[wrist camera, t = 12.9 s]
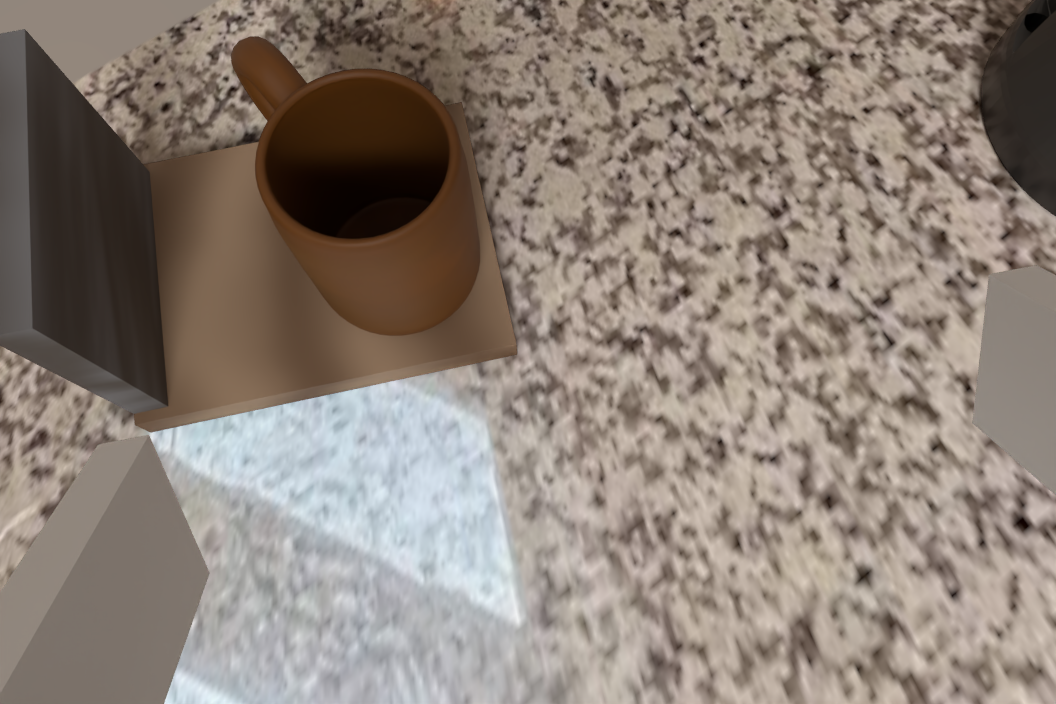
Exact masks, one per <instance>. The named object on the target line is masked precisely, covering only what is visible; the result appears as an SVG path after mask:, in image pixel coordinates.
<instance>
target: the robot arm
mask: <svg viewBox="0 0 1056 704" xmlns="http://www.w3.org/2000/svg"><path fill="white" fill-rule="evenodd" d="M981 101H982V111H983V117H984V121H985V125H986V129H987V132H988V135H989V137H990V140H991V142H992V144H993V146H994V148H995V150H996V152H997V154H998V156H999V158H1000V159H1001V161H1002V163H1003V164H1004V166H1005V167H1006V169H1007V170H1008V171H1009V173H1010V174H1011V175H1012V177H1013V178H1014V179H1015V180H1016V181H1017V183H1018V184H1019V185H1020V186H1021V187H1022V188H1023V189H1024V190H1025V191H1026V192H1027V193H1028V194H1029V195H1030V196H1031V197H1032V198H1033V199H1034V200H1035V201H1037V202H1038V203H1039V204H1040V205H1041V206H1043V207H1044V208H1045V209H1047V210H1048V211H1049V212H1051V213H1052V214H1053V215H1055V216H1056V0H1032V1H1031V2H1030V3H1029V4H1028V5H1027V6H1026V7H1025V8H1024V10H1023V11H1022V12H1021V13H1020V14H1019V16H1018V17H1017V18H1016V19H1015V21H1014V22H1013V23H1012V25H1011V26H1010V27H1009V28H1008V30H1007V31H1006V32H1005V33H1004V35H1003V36H1002V37H1001V38H1000V40H999V41H998V43H997V44H996V46H995V47H994V49H993V51H992V53H991V55H990V57H989V59H988V61H987V64H986V67H985V71H984V75H983V80H982V89H981ZM972 423H973V424H974V425H975V426H976V427H978V428H979V429H980V430H981V431H982V432H983V433H985V434H986V435H987V436H988V437H989V438H990V439H991V440H993V441H994V442H995V443H996V444H997V445H998V446H1000V447H1001V448H1002V449H1003V450H1004V451H1005V452H1006V453H1008V454H1009V455H1010V456H1011V457H1012V458H1013V459H1015V460H1016V461H1017V462H1018V463H1019V464H1020V465H1021V466H1023V467H1024V468H1025V469H1026V470H1027V471H1028V472H1030V473H1031V474H1032V475H1033V476H1034V477H1035V478H1036V479H1038V480H1039V481H1040V482H1041V483H1042V484H1043V485H1045V486H1046V487H1047V488H1048V489H1049V490H1050V491H1051V492H1053V493H1054V494H1055V495H1056V275H1054V274H1052V273H1051V272H1049V271H1047V270H1045V269H1043V268H1041V267H1039V266H1037V265H1035V266H1030V267H1025V268H1020V269H1014V270H1009V271H1004V272H999V273H994V274H989V280H988V289H987V298H986V306H985V315H984V324H983V333H982V342H981V351H980V360H979V369H978V378H977V387H976V396H975V405H974V413H973V422H972ZM208 576H209V570H208V568H207V566H206V564H205V561H204V559H203V557H202V555H201V552H200V550H199V548H198V545H197V543H196V541H195V539H194V536H193V534H192V532H191V530H190V527H189V525H188V523H187V520H186V518H185V516H184V514H183V511H182V509H181V507H180V505H179V502H178V500H177V498H176V495H175V493H174V491H173V489H172V486H171V484H170V482H169V479H168V477H167V475H166V473H165V470H164V468H163V466H162V464H161V461H160V459H159V457H158V454H157V452H156V450H155V448H154V445H153V443H152V441H151V439H150V436H149V435H146V436H141V437H136V438H130V439H125V440H120V441H115V442H109V443H104V444H99V445H98V446H97V447H96V449H95V450H94V452H93V453H92V455H91V456H90V458H89V459H88V461H87V462H86V464H85V465H84V467H83V468H82V470H81V471H80V473H79V474H78V476H77V477H76V479H75V480H74V482H73V483H72V485H71V486H70V488H69V489H68V491H67V492H66V494H65V495H64V497H63V498H62V500H61V501H60V503H59V504H58V506H57V507H56V509H55V510H54V512H53V513H52V515H51V516H50V518H49V519H48V521H47V522H46V524H45V525H44V527H43V528H42V530H41V531H40V533H39V534H38V536H37V537H36V539H35V540H34V542H33V543H32V545H31V546H30V548H29V549H28V551H27V552H26V554H25V555H24V557H23V558H22V560H21V561H20V563H19V564H18V566H17V567H16V569H15V570H14V572H13V573H12V575H11V576H10V578H9V579H8V581H7V582H6V584H5V585H4V587H3V588H2V590H1V591H0V704H164V702H165V699H166V696H167V693H168V690H169V687H170V685H171V682H172V679H173V676H174V673H175V670H176V667H177V665H178V662H179V659H180V656H181V653H182V650H183V647H184V645H185V642H186V639H187V636H188V633H189V630H190V627H191V625H192V622H193V619H194V616H195V613H196V610H197V607H198V605H199V602H200V599H201V596H202V593H203V590H204V587H205V585H206V582H207V579H208Z"/></svg>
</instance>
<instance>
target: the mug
mask: <svg viewBox="0 0 1056 704" xmlns="http://www.w3.org/2000/svg"><path fill="white" fill-rule="evenodd" d="M231 61H232V66H233V69H234V70H235V72H236V74H237V76H238V78H239V80H240V82H241V83H242V85H243V87H244V88H245V90H246V92H247V93H248V95H249V96H250V98H251V99H252V100H253V102H254V103H255V105H256V106H257V108H258V109H259V110H260V112H261V113H262V114H263V116H264V117H265V118H266V119H267V121H268V122H267V124H266V125H265V127H264V129H263V132H262V134H261V137H260V139H259V143H258V147H257V151H256V159H255V177H256V182H257V187H258V190H259V192H260V195H261V198H262V200H263V202H264V204H265V206H266V208H267V210H268V212H269V214H270V217H271V219H272V221H273V223H274V225H275V226H276V228H277V230H278V232H279V234H280V235H281V237H282V238H283V240H284V241H285V243H286V244H287V246H288V247H289V249H290V250H291V252H292V253H293V255H294V256H295V258H296V259H297V261H298V262H299V264H300V265H301V267H302V268H303V269H304V271H305V272H306V274H307V275H308V276H309V278H310V279H311V280H312V282H313V283H314V285H315V286H316V288H317V289H318V290H319V292H320V293H321V295H322V296H323V298H324V299H325V300H326V301H327V303H328V304H329V305H330V307H331V308H332V309H333V310H334V311H335V312H336V313H337V314H338V315H339V316H341V317H342V318H343V319H345V320H346V321H347V322H349V323H351V324H353V325H354V326H356V327H358V328H360V329H362V330H365V331H368V332H371V333H375V334H379V335H387V336H403V335H410V334H415V333H418V332H422V331H425V330H427V329H430V328H432V327H434V326H436V325H438V324H440V323H441V322H443V321H444V320H446V319H447V318H449V317H450V316H451V315H452V314H453V313H454V312H455V311H457V310H458V309H459V307H460V306H461V305H462V304H463V303H464V301H465V300H466V298H467V297H468V295H469V294H470V292H471V290H472V288H473V286H474V283H475V281H476V277H477V274H478V271H479V264H480V242H479V235H478V228H477V222H476V214H475V207H474V200H473V194H472V188H471V182H470V175H469V169H468V164H467V160H466V156H465V153H464V150H463V147H462V144H461V141H460V137H459V134H458V131H457V127H456V125H455V123H454V121H453V118H452V116H451V114H450V113H449V111H448V110H447V108H446V107H445V105H444V104H443V103H442V102H441V101H440V100H439V99H438V98H437V97H436V96H435V95H434V94H433V93H432V92H431V91H429V90H428V89H427V88H425V87H424V86H422V85H421V84H419V83H418V82H416V81H414V80H412V79H410V78H408V77H406V76H403V75H400V74H397V73H394V72H389V71H385V70H378V69H352V70H344V71H339V72H335V73H331V74H328V75H325V76H323V77H320V78H318V79H315V80H313V81H311V82H309V83H306V81H305V80H304V79H303V78H302V76H301V75H300V74H299V73H298V71H297V70H296V69H295V68H294V67H293V65H292V64H291V63H290V62H289V61H288V59H287V58H286V57H285V56H284V55H283V54H282V53H281V52H280V51H279V50H278V49H277V48H276V47H275V46H274V45H273V44H271V43H270V42H268V41H267V40H266V39H263V38H261V37H248V38H246V39H243V40H241V41H239V42H238V43H237V44H236V45H235V46H234V48H233V51H232V54H231Z"/></svg>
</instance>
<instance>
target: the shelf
mask: <svg viewBox="0 0 1056 704" xmlns="http://www.w3.org/2000/svg"><path fill="white" fill-rule="evenodd" d="M445 107H446V108H447V110H448V111H449V113H450V114H451V116H452V118H453V121H454V123H455V125H456V127H457V131H458V134H459V137H460V141H461V144H462V147H463V150H464V153H465V156H466V160H467V164H468V169H469V175H470V182H471V188H472V194H473V200H474V207H475V214H476V222H477V228H478V235H479V242H480V264H479V271H478V274H477V277H476V281H475V283H474V286H473V288H472V290H471V292H470V294H469V295H468V297H467V298H466V300H465V301H464V303H463V304H462V305H461V306H460V307H459V309H458V310H457V311H455V312H454V313H453V314H452V315H451V316H450V317H449V318H447V319H446V320H444V321H443V322H441V323H440V324H438V325H436V326H434V327H432V328H430V329H427V330H425V331H422V332H418V333H415V334H410V335H403V336H387V335H379V334H375V333H371V332H368V331H365V330H362V329H360V328H358V327H356V326H354V325H353V324H351V323H349V322H347V321H346V320H345V319H343V318H342V317H341V316H339V315H338V314H337V313H336V312H335V311H334V310H333V309H332V308H331V307H330V305H329V304H328V303H327V301H326V300H325V299H324V298H323V296H322V295H321V293H320V292H319V290H318V289H317V288H316V286H315V285H314V283H313V282H312V280H311V279H310V278H309V276H308V275H307V274H306V272H305V271H304V269H303V268H302V267H301V265H300V264H299V262H298V261H297V259H296V258H295V256H294V255H293V253H292V252H291V250H290V249H289V247H288V246H287V244H286V243H285V241H284V240H283V238H282V237H281V235H280V234H279V232H278V230H277V228H276V226H275V225H274V223H273V221H272V219H271V217H270V214H269V212H268V210H267V208H266V206H265V204H264V202H263V200H262V198H261V195H260V192H259V190H258V187H257V182H256V177H255V159H256V151H257V147H258V143H259V142H255V143H250V144H245V145H240V146H235V147H230V148H225V149H220V150H215V151H209V152H204V153H199V154H194V155H189V156H184V157H179V158H174V159H168V160H163V161H158V162H153V163H148V164H142V163H141V162H140V160H139V159H138V158H137V157H136V156H135V155H134V154H133V152H132V151H131V150H130V149H129V148H128V147H127V145H126V144H125V143H124V142H123V141H122V140H121V139H120V137H119V136H118V135H117V134H116V133H115V132H114V131H113V129H112V128H111V127H110V126H109V125H108V124H107V123H106V121H105V120H104V119H103V118H102V117H101V116H100V115H99V113H98V112H97V111H96V110H95V109H94V108H93V107H92V105H91V104H90V103H89V102H88V101H87V100H86V99H85V97H84V96H83V95H82V94H81V93H80V92H79V90H78V89H77V88H76V87H75V86H74V85H73V84H72V82H71V81H70V80H69V79H68V78H67V77H66V76H65V75H64V73H63V72H62V71H61V70H60V69H59V68H58V66H57V65H56V64H55V63H54V62H53V61H52V60H51V59H50V57H49V56H48V55H47V54H46V53H45V52H44V50H43V49H42V48H41V47H40V46H39V45H38V43H37V42H36V41H35V40H34V39H33V38H32V37H31V36H30V34H29V33H28V32H27V31H26V30H25V29H23V30H18V31H12V32H7V33H2V34H0V346H2V347H4V348H6V349H8V350H10V351H12V352H14V353H16V354H18V355H20V356H22V357H24V358H26V359H28V360H30V361H31V362H33V363H35V364H37V365H39V366H41V367H43V368H45V369H47V370H49V371H51V372H53V373H55V374H57V375H59V376H61V377H63V378H65V379H67V380H69V381H71V382H73V383H75V384H77V385H79V386H80V387H82V388H84V389H86V390H88V391H90V392H92V393H94V394H96V395H98V396H100V397H102V398H104V399H106V400H108V401H110V402H112V403H114V404H116V405H118V406H120V407H122V408H124V409H126V410H128V411H129V412H131V413H133V414H134V420H135V425H136V426H138V427H140V428H143V429H145V430H147V431H149V432H155V431H159V430H164V429H169V428H173V427H178V426H183V425H188V424H192V423H197V422H202V421H206V420H211V419H216V418H221V417H225V416H230V415H235V414H239V413H244V412H249V411H253V410H258V409H263V408H268V407H272V406H277V405H282V404H286V403H291V402H296V401H301V400H305V399H310V398H315V397H319V396H324V395H329V394H333V393H338V392H343V391H348V390H352V389H357V388H362V387H366V386H371V385H376V384H381V383H385V382H390V381H395V380H399V379H404V378H409V377H413V376H418V375H423V374H428V373H432V372H437V371H442V370H446V369H451V368H456V367H461V366H465V365H470V364H475V363H479V362H484V361H489V360H493V359H498V358H503V357H508V356H512V355H517V346H516V340H515V336H514V332H513V327H512V323H511V318H510V314H509V309H508V305H507V301H506V296H505V292H504V287H503V283H502V279H501V274H500V270H499V265H498V261H497V256H496V252H495V248H494V243H493V239H492V234H491V230H490V225H489V221H488V217H487V212H486V208H485V203H484V199H483V195H482V190H481V186H480V181H479V177H478V172H477V168H476V164H475V159H474V155H473V150H472V146H471V141H470V137H469V133H468V128H467V124H466V119H465V115H464V111H463V106H462V102H460V103H455V104H450V105H445Z"/></svg>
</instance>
